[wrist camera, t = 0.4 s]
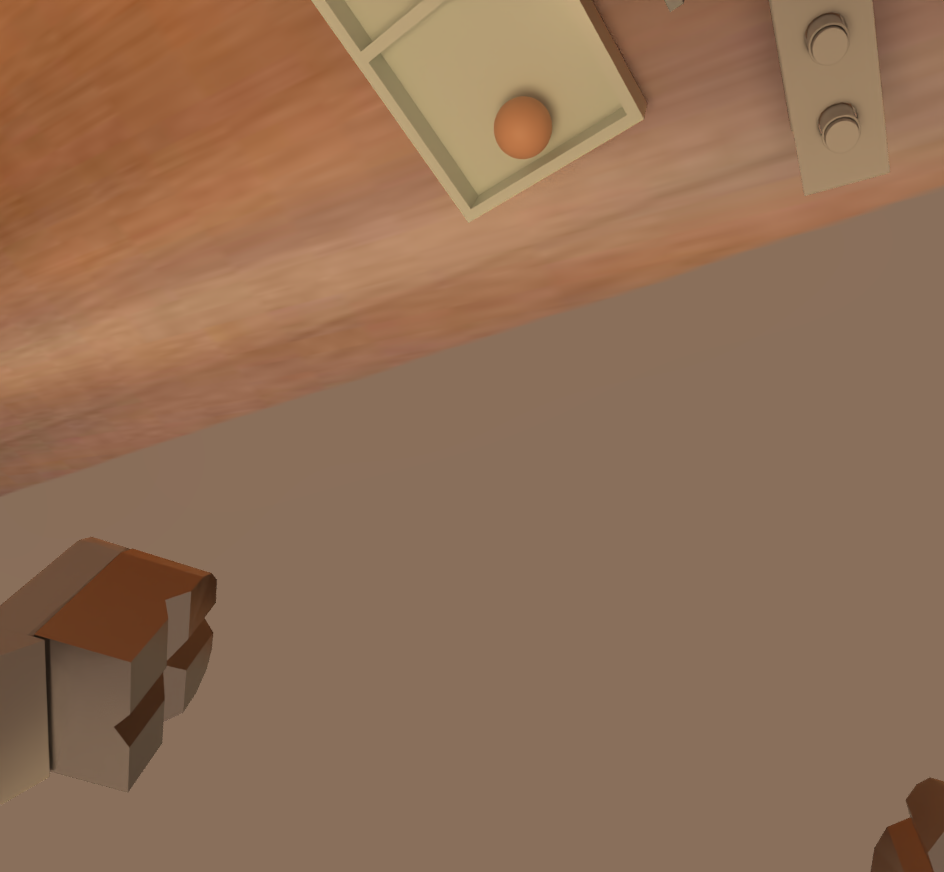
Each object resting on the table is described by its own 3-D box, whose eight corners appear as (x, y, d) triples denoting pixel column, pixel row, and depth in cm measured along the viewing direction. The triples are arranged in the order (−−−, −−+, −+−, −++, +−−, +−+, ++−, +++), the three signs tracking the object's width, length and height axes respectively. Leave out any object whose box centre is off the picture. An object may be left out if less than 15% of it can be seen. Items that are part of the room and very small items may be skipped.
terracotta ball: (536, 76, 51) (525, 95, 48) (567, 127, 53) (558, 149, 50) (489, 108, 54) (476, 128, 51) (520, 156, 55) (509, 179, 52)
